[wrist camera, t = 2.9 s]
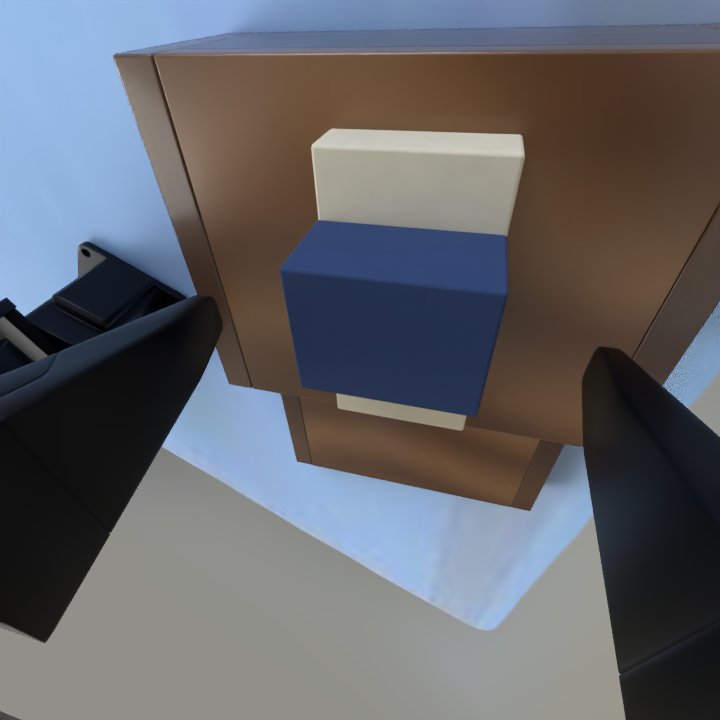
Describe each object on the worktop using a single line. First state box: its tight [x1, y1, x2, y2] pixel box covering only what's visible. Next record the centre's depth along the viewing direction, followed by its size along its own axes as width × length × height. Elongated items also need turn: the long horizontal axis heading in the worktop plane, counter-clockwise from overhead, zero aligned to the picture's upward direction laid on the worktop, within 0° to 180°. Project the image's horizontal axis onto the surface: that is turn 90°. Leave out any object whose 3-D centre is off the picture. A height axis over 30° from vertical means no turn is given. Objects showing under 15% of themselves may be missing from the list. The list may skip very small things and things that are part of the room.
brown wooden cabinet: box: [113, 24, 720, 511], centre depth 19 cm, size 24×16×6 cm, turn 2°
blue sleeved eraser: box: [280, 129, 525, 431], centre depth 11 cm, size 9×5×4 cm, turn 2°
